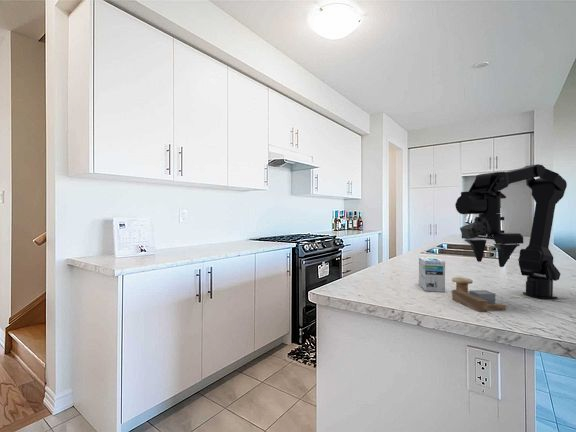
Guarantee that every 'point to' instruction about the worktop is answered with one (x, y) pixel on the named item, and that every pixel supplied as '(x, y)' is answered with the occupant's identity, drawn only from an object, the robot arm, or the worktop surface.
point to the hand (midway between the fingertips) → (489, 264)
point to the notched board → (475, 302)
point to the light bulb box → (432, 274)
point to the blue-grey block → (484, 295)
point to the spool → (462, 283)
